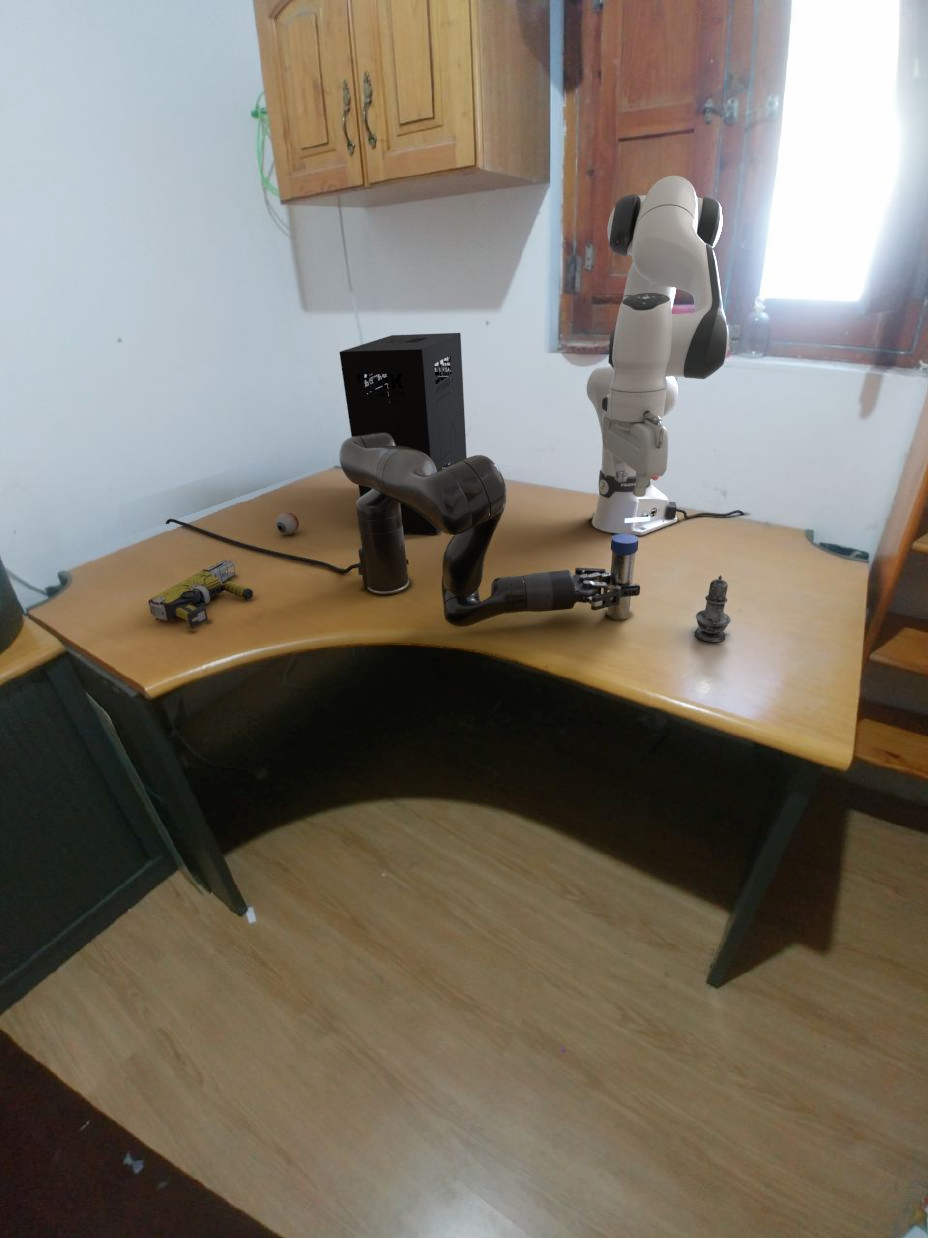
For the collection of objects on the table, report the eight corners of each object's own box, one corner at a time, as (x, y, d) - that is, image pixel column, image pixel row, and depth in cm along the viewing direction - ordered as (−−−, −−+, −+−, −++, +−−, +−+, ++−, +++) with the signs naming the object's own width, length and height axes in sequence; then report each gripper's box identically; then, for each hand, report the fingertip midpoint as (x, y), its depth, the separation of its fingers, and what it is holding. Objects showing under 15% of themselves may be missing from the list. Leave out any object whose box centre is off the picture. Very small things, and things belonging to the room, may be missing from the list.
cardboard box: (436, 534, 159) (422, 349, 137) (364, 531, 164) (339, 351, 141) (468, 489, 191) (460, 332, 168) (407, 487, 195) (391, 335, 173)
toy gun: (275, 568, 138) (221, 556, 142) (203, 614, 118) (142, 599, 122) (277, 586, 140) (223, 575, 144) (207, 635, 120) (146, 620, 124)
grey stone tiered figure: (729, 644, 107) (742, 583, 101) (695, 641, 108) (705, 582, 102) (724, 627, 112) (735, 568, 106) (691, 625, 113) (700, 567, 107)
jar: (604, 610, 120) (609, 537, 112) (624, 608, 121) (630, 535, 113) (612, 621, 117) (618, 546, 109) (632, 618, 117) (640, 543, 109)
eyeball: (273, 537, 164) (268, 516, 161) (287, 528, 169) (282, 508, 166) (291, 539, 161) (286, 518, 158) (305, 530, 166) (301, 510, 163)
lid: (606, 545, 113) (607, 534, 112) (631, 543, 114) (632, 531, 113) (616, 556, 109) (617, 544, 108) (641, 553, 110) (643, 541, 109)
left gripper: (555, 590, 107) (650, 582, 108) (539, 558, 119) (624, 551, 120) (554, 627, 110) (646, 619, 111) (539, 591, 123) (621, 584, 124)
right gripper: (683, 417, 90) (672, 505, 97) (631, 394, 108) (625, 470, 115) (643, 420, 90) (634, 509, 97) (597, 397, 107) (593, 473, 114)
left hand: (634, 583), depth 116 cm, fingers closed on jar, 4 cm apart
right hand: (629, 488), depth 106 cm, fingers open, 7 cm apart
